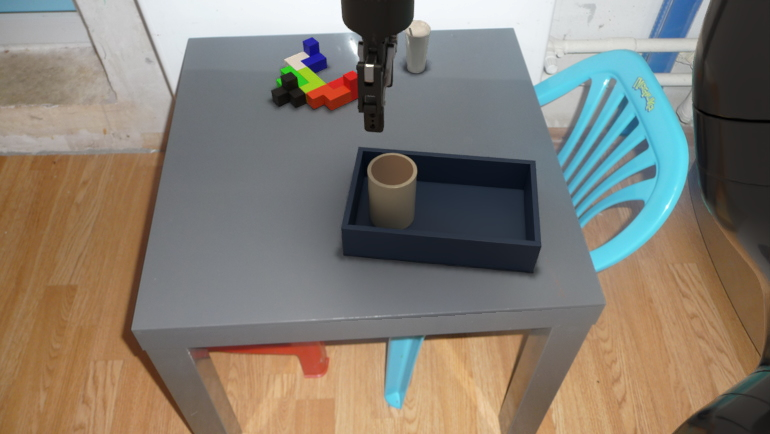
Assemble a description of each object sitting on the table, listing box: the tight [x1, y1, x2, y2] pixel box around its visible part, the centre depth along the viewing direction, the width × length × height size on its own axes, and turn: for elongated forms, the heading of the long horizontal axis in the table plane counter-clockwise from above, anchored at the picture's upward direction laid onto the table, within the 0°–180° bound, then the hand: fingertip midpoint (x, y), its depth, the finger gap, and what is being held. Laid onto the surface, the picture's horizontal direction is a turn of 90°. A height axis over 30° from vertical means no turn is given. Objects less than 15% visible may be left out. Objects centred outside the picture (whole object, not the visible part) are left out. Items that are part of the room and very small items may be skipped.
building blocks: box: [270, 36, 358, 111], centre depth 102 cm, size 15×13×4 cm
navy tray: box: [340, 146, 543, 274], centre depth 82 cm, size 26×16×6 cm, turn 83°
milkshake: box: [404, 19, 432, 74], centre depth 104 cm, size 5×5×10 cm
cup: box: [367, 153, 417, 229], centre depth 81 cm, size 7×7×9 cm
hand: (379, 106), depth 70 cm, fingers open, 8 cm apart
